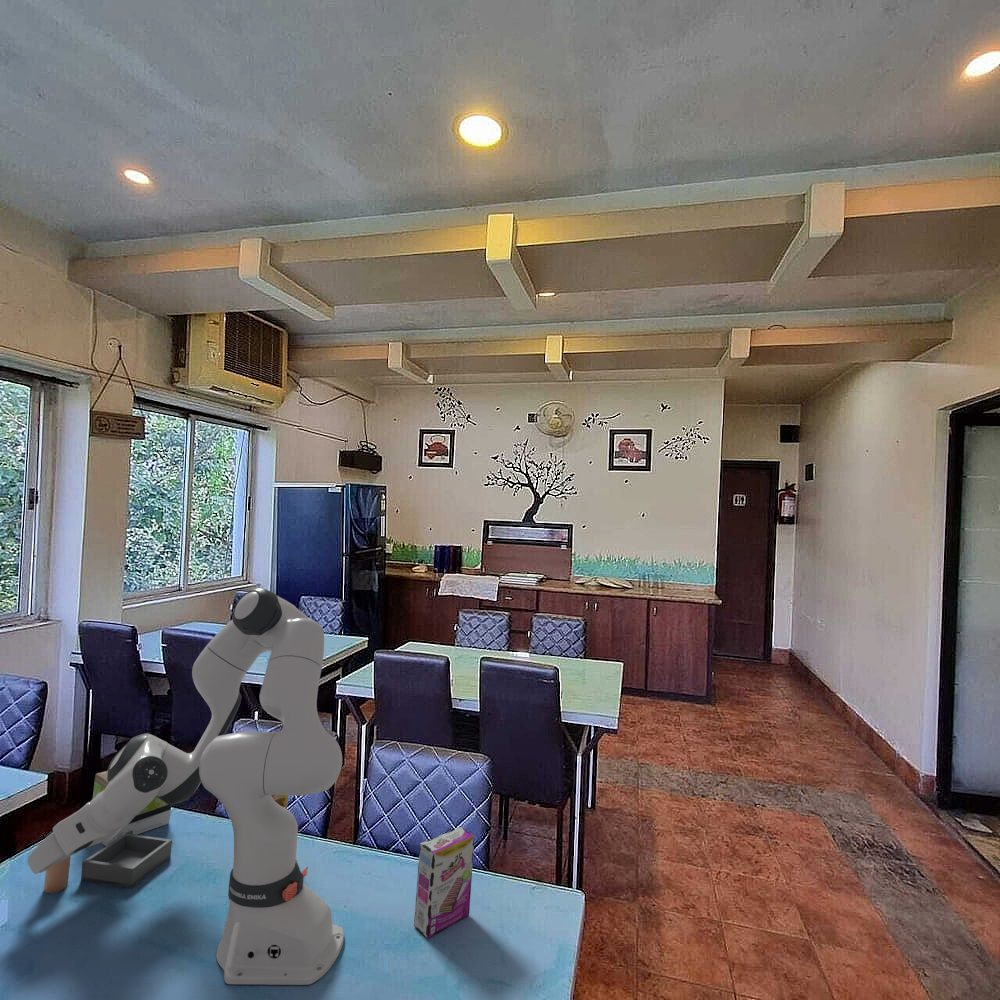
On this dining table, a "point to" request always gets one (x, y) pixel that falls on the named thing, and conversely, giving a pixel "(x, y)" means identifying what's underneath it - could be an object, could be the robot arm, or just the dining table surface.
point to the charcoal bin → (126, 860)
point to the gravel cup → (57, 876)
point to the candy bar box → (444, 881)
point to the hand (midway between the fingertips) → (64, 855)
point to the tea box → (146, 819)
